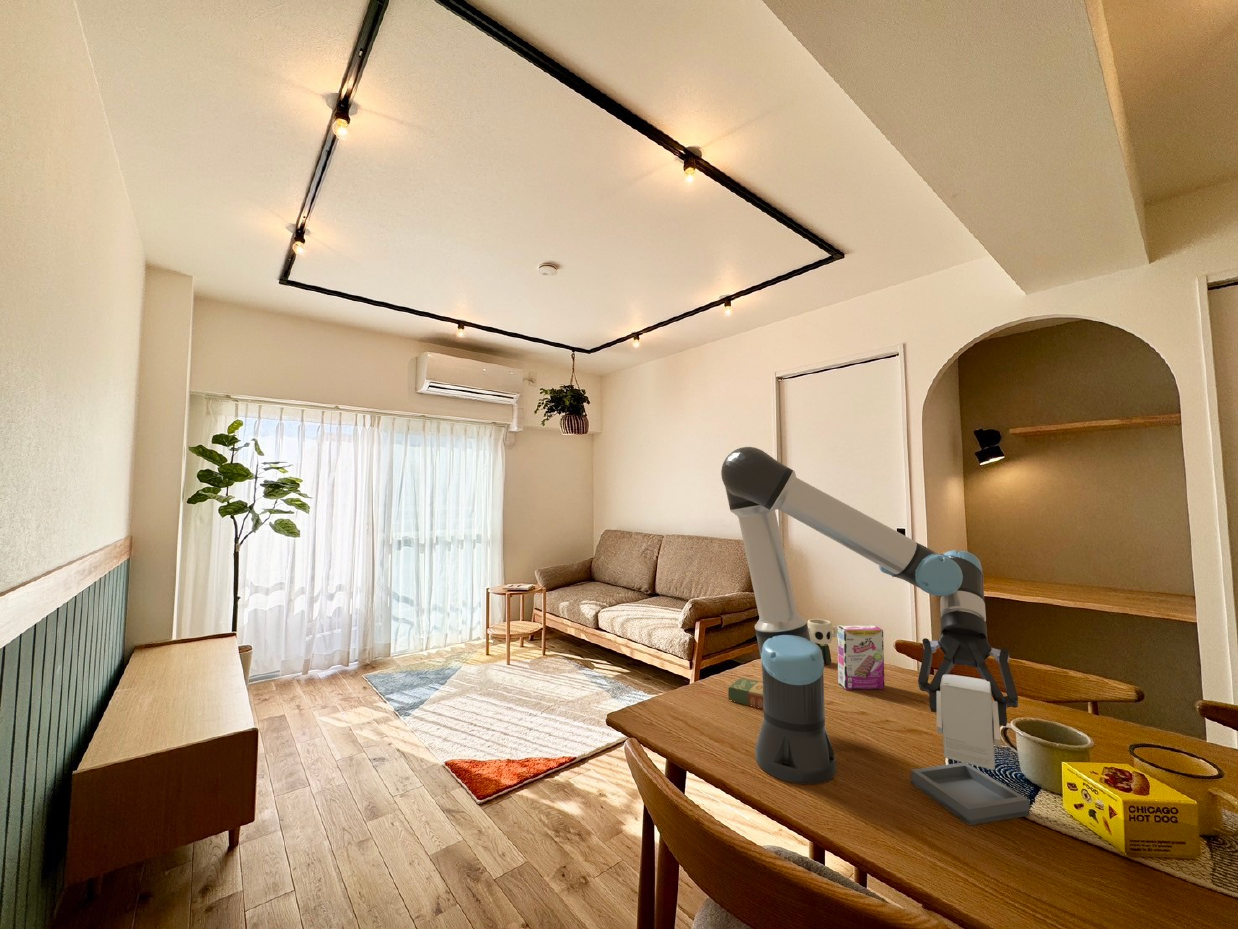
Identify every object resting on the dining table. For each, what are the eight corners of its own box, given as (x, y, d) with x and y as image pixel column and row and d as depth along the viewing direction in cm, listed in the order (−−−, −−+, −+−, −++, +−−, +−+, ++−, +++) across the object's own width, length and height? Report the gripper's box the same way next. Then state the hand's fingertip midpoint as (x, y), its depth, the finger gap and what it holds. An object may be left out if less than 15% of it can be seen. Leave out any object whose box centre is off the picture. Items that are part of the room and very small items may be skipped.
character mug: (808, 667, 155) (807, 624, 156) (799, 659, 162) (798, 619, 163) (843, 666, 155) (841, 623, 156) (832, 658, 162) (830, 618, 163)
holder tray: (969, 825, 80) (968, 809, 80) (911, 783, 92) (910, 769, 92) (1029, 815, 82) (1029, 799, 82) (965, 775, 94) (964, 762, 94)
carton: (789, 718, 120) (789, 699, 120) (727, 702, 129) (727, 685, 130) (800, 705, 127) (799, 688, 127) (740, 691, 136) (739, 675, 136)
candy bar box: (846, 690, 136) (844, 629, 137) (837, 684, 141) (835, 625, 142) (886, 690, 136) (883, 629, 137) (876, 683, 141) (874, 624, 142)
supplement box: (996, 771, 82) (990, 693, 83) (942, 758, 87) (938, 683, 87) (996, 753, 88) (991, 679, 89) (946, 741, 92) (941, 671, 93)
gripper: (1028, 638, 95) (1044, 763, 81) (906, 624, 107) (902, 731, 93) (1028, 615, 91) (1046, 743, 77) (902, 603, 103) (897, 712, 89)
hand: (967, 736), depth 85 cm, fingers closed on supplement box, 7 cm apart
